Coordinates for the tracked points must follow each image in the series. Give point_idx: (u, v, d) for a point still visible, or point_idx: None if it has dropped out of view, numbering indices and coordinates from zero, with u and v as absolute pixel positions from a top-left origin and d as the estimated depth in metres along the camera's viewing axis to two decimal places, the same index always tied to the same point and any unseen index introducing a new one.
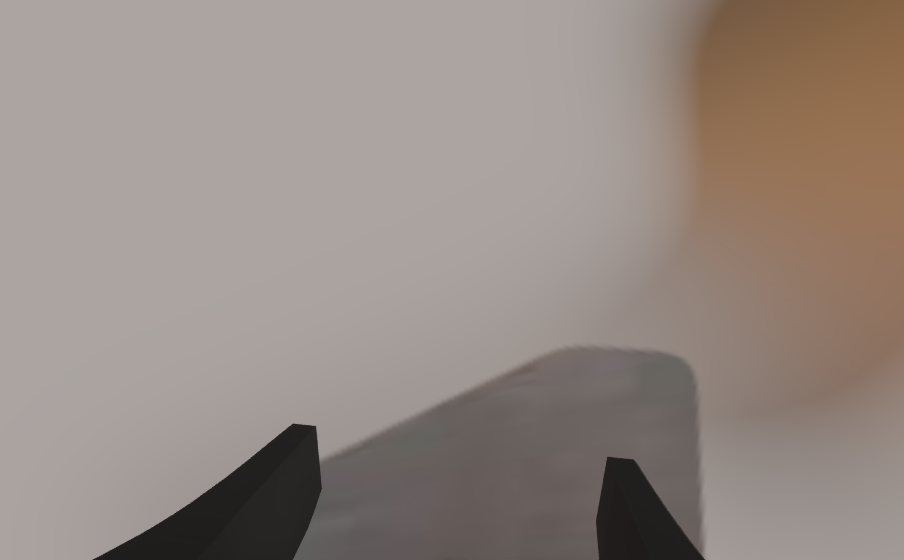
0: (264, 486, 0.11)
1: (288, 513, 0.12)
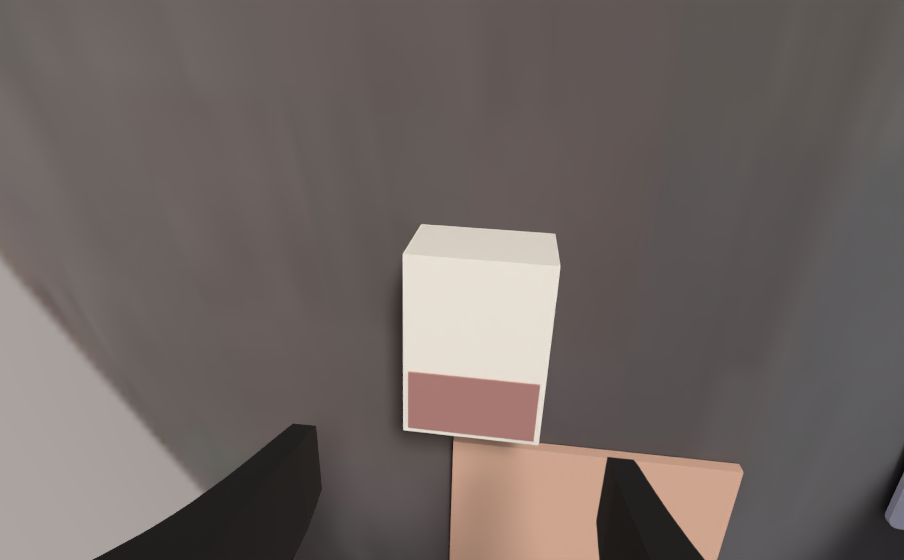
0: (264, 486, 0.11)
1: (288, 513, 0.12)
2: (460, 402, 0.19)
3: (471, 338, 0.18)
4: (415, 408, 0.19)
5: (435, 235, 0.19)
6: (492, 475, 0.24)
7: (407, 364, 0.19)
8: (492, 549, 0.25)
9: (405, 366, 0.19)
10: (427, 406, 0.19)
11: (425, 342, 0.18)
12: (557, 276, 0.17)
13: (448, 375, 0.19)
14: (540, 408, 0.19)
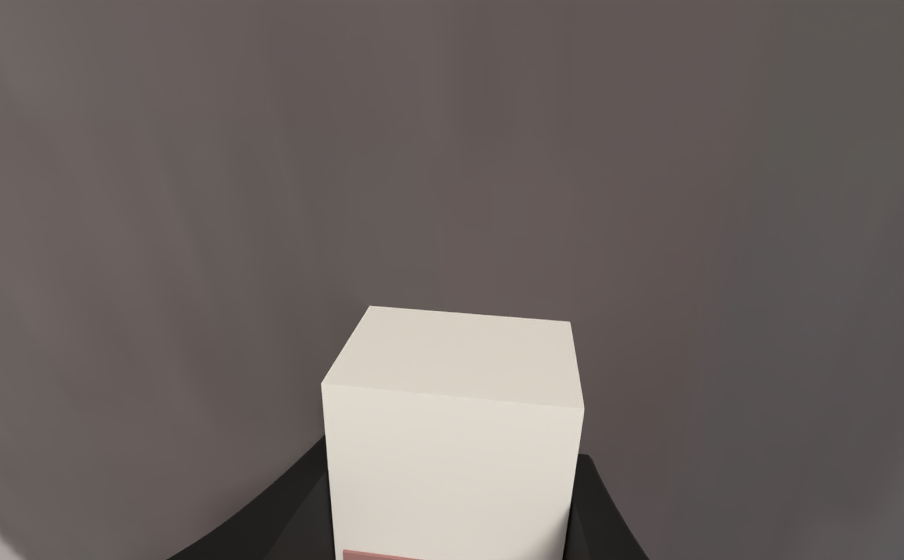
0: (313, 492, 0.11)
1: (332, 519, 0.12)
2: None
3: (439, 507, 0.11)
4: None
5: (384, 334, 0.12)
6: None
7: (341, 540, 0.12)
8: None
9: (338, 542, 0.12)
10: None
11: (366, 512, 0.11)
12: (579, 424, 0.10)
13: (406, 557, 0.12)
14: None
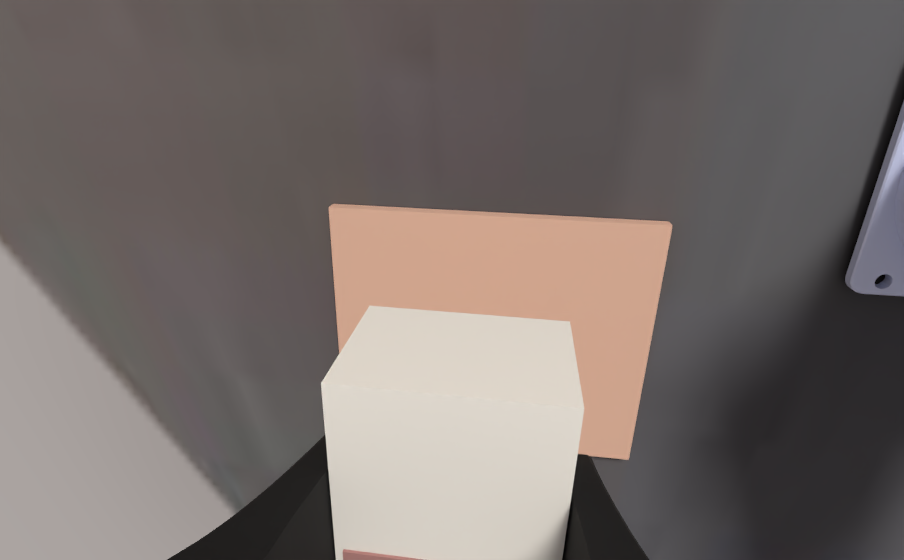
0: (313, 492, 0.11)
1: None
2: None
3: (439, 508, 0.11)
4: None
5: (384, 333, 0.12)
6: (378, 253, 0.20)
7: (340, 540, 0.12)
8: None
9: (338, 542, 0.12)
10: None
11: (366, 511, 0.11)
12: (579, 424, 0.10)
13: (406, 557, 0.12)
14: None
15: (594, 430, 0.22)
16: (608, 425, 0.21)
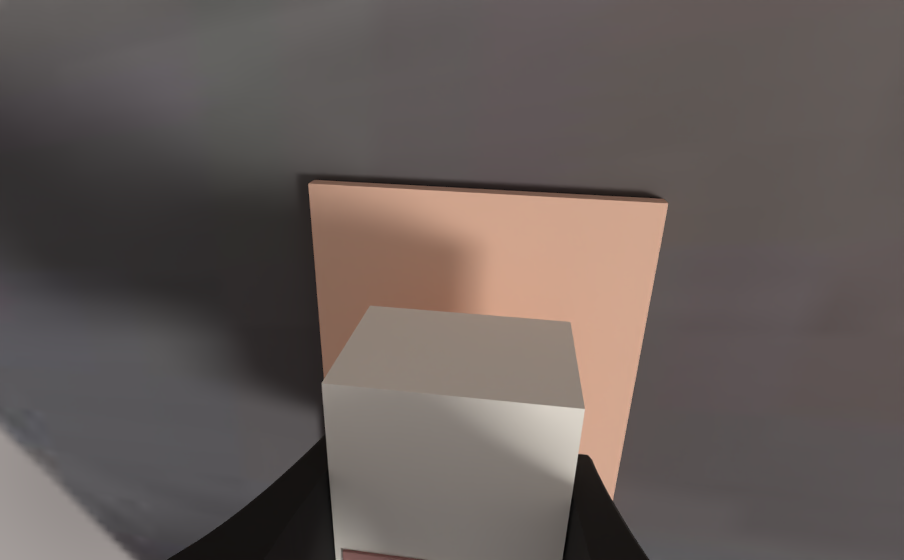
0: (313, 492, 0.11)
1: (332, 518, 0.12)
2: None
3: (439, 508, 0.11)
4: None
5: (385, 333, 0.12)
6: (596, 261, 0.15)
7: (341, 540, 0.12)
8: (439, 258, 0.16)
9: (338, 542, 0.12)
10: None
11: (366, 512, 0.11)
12: (579, 424, 0.10)
13: (406, 558, 0.12)
14: None
15: None
16: None
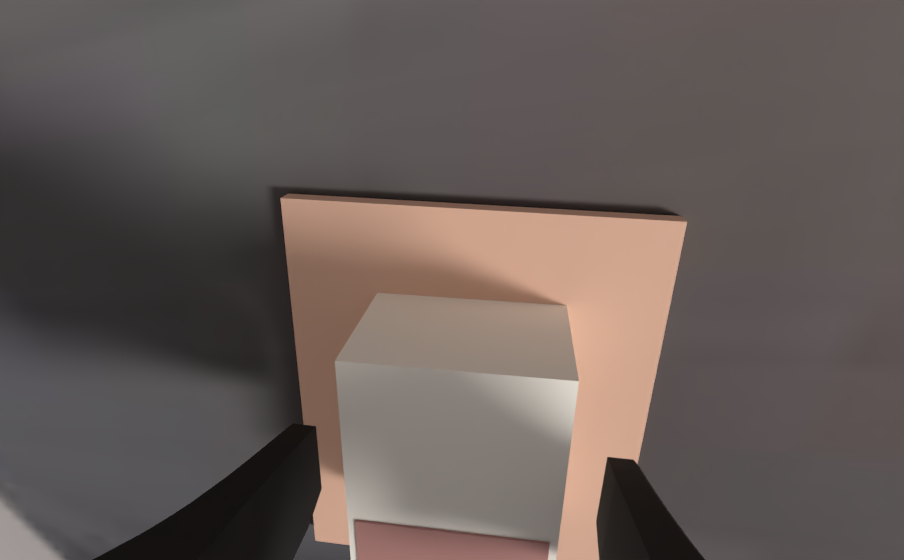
0: (264, 486, 0.11)
1: (288, 513, 0.12)
2: None
3: (444, 478, 0.12)
4: None
5: (392, 317, 0.13)
6: (605, 286, 0.13)
7: (353, 510, 0.13)
8: (428, 282, 0.14)
9: (350, 512, 0.13)
10: None
11: (376, 483, 0.12)
12: (574, 395, 0.11)
13: (414, 526, 0.13)
14: None
15: None
16: None
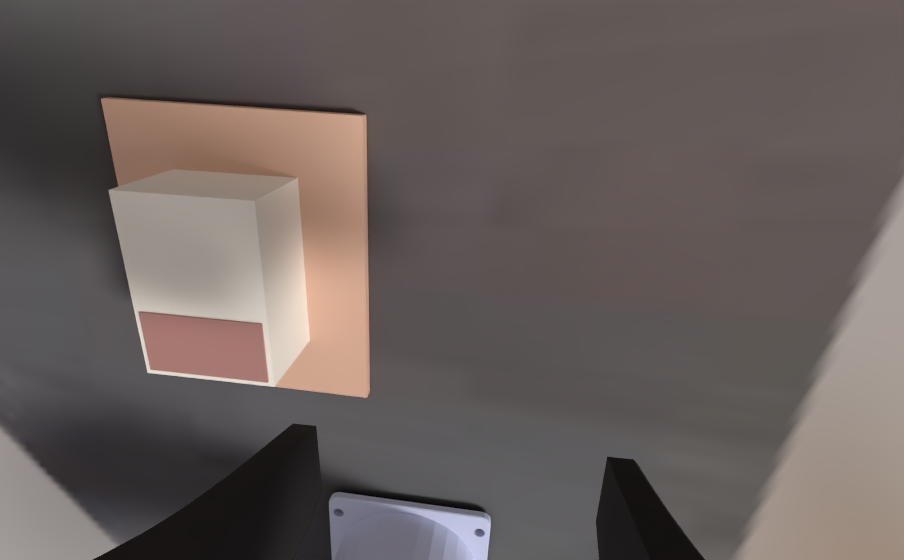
0: (264, 486, 0.11)
1: (288, 513, 0.12)
2: (192, 342, 0.19)
3: (189, 276, 0.18)
4: (153, 349, 0.20)
5: (169, 178, 0.19)
6: (320, 163, 0.20)
7: (136, 304, 0.19)
8: (205, 160, 0.20)
9: (135, 306, 0.19)
10: (163, 346, 0.19)
11: (148, 282, 0.19)
12: (253, 211, 0.17)
13: (177, 315, 0.19)
14: (267, 348, 0.19)
15: None
16: None
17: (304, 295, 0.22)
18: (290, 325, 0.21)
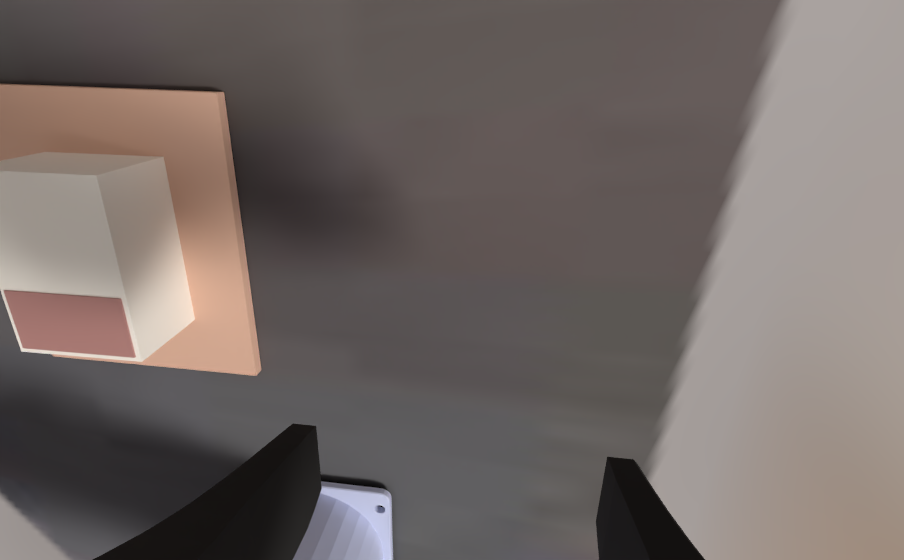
0: (264, 486, 0.11)
1: (288, 513, 0.12)
2: (58, 319, 0.20)
3: (46, 253, 0.19)
4: (22, 328, 0.20)
5: (32, 158, 0.20)
6: (182, 141, 0.20)
7: (1, 282, 0.19)
8: (74, 142, 0.21)
9: (1, 285, 0.19)
10: (31, 324, 0.20)
11: (8, 260, 0.19)
12: (97, 185, 0.17)
13: (41, 292, 0.19)
14: (129, 323, 0.19)
15: None
16: None
17: (183, 274, 0.22)
18: (163, 302, 0.21)
